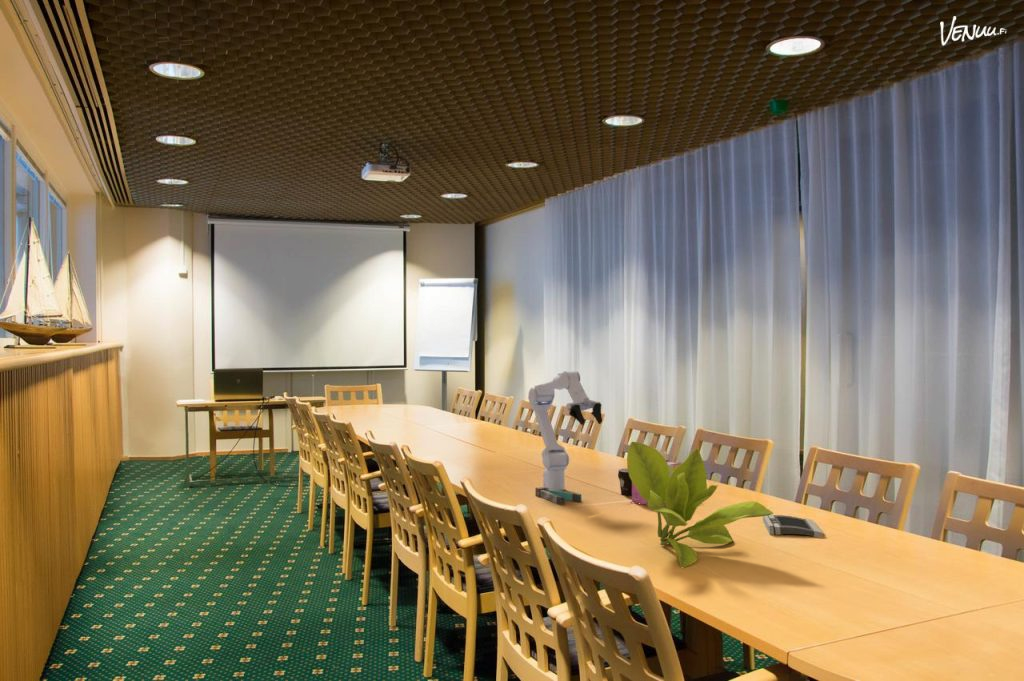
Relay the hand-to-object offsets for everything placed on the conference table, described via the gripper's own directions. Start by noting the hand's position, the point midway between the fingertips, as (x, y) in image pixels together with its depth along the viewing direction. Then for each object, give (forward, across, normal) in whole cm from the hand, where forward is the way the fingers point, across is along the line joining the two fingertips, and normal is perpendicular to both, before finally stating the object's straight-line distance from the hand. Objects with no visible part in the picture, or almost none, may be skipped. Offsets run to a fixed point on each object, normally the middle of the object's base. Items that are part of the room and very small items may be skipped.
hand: (592, 422), depth 282 cm
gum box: (+24, +27, +19) cm, 41 cm away
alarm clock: (+65, +39, -19) cm, 78 cm away
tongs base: (+13, -11, +29) cm, 34 cm away
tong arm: (+14, -7, +28) cm, 32 cm away
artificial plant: (+68, -7, -22) cm, 71 cm away
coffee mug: (+16, +22, +28) cm, 39 cm away
